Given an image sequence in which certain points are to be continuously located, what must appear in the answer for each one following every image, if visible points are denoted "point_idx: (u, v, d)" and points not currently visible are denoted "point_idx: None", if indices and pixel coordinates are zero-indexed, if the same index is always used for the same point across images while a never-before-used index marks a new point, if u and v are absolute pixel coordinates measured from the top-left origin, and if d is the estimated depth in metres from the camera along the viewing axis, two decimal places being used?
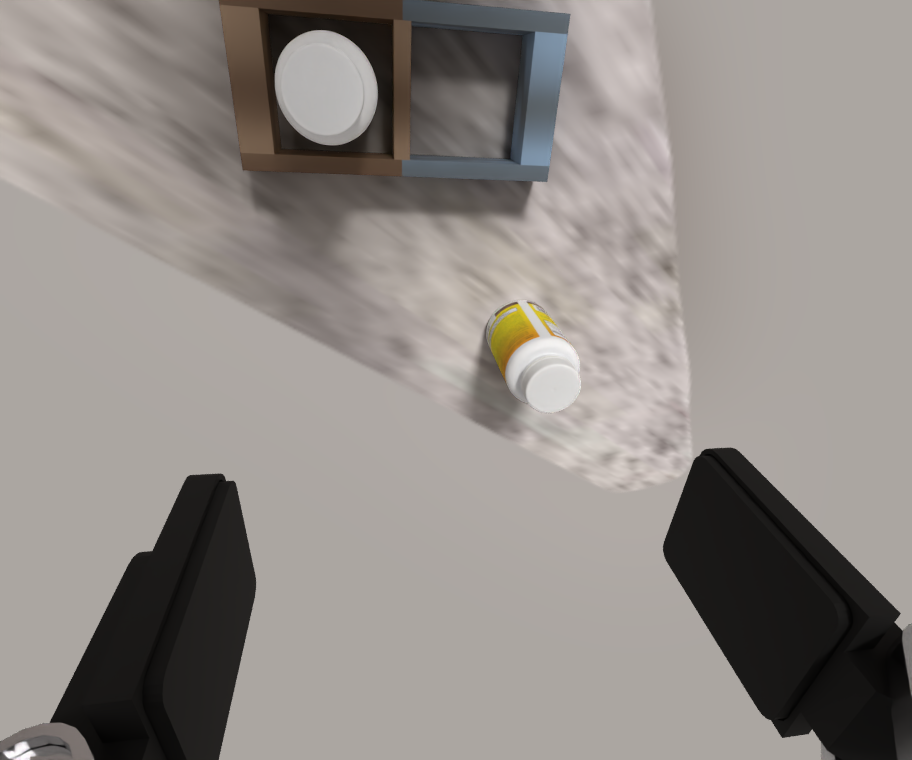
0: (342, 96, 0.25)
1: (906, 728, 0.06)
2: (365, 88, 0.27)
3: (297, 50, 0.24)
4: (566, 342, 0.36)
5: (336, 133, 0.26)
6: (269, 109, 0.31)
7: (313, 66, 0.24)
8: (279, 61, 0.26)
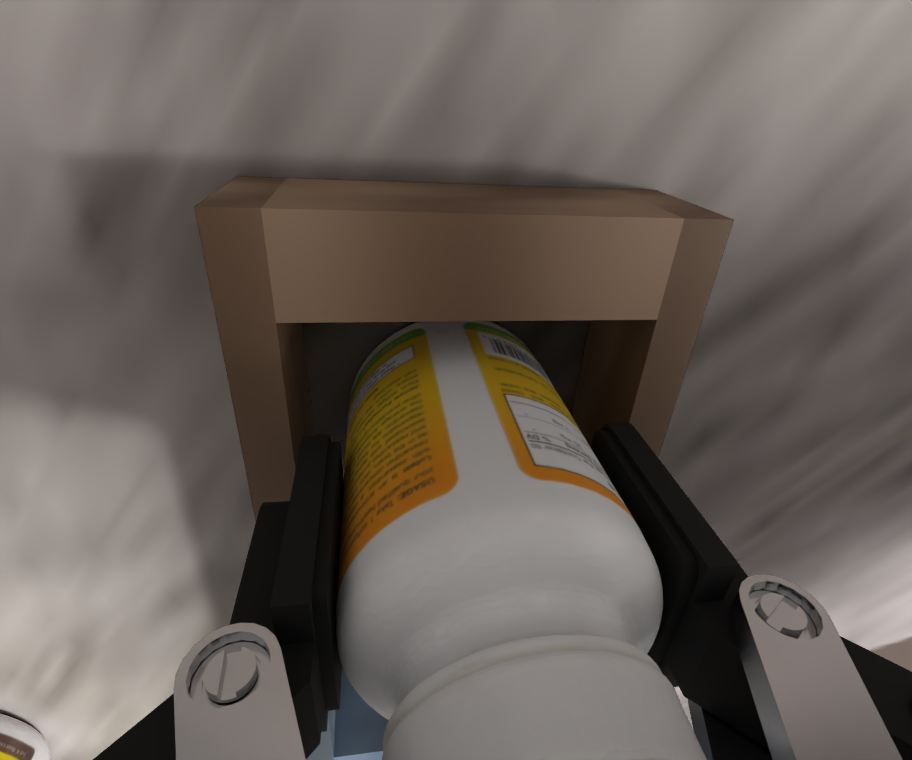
0: None
1: (763, 692, 0.06)
2: None
3: None
4: None
5: None
6: None
7: None
8: (606, 536, 0.07)
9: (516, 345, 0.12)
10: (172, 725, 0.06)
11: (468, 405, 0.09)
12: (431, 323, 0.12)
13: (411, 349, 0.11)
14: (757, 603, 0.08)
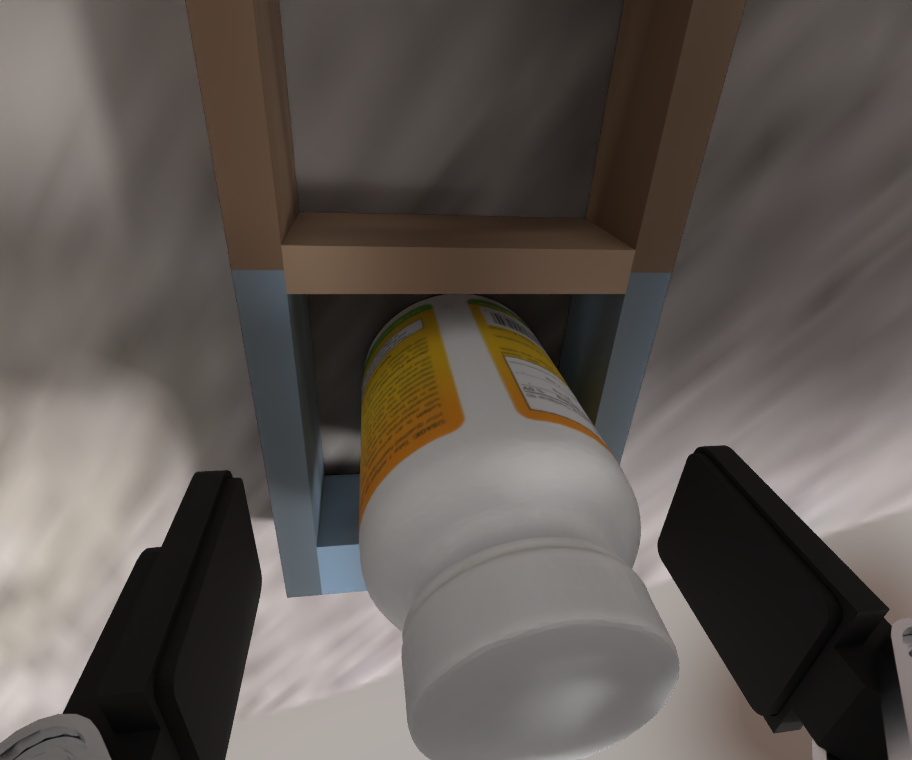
0: (527, 744, 0.08)
1: (896, 724, 0.06)
2: None
3: (670, 648, 0.07)
4: None
5: (421, 746, 0.07)
6: None
7: (621, 686, 0.07)
8: (589, 465, 0.08)
9: (514, 319, 0.13)
10: None
11: (473, 364, 0.10)
12: (438, 299, 0.14)
13: (421, 321, 0.13)
14: None
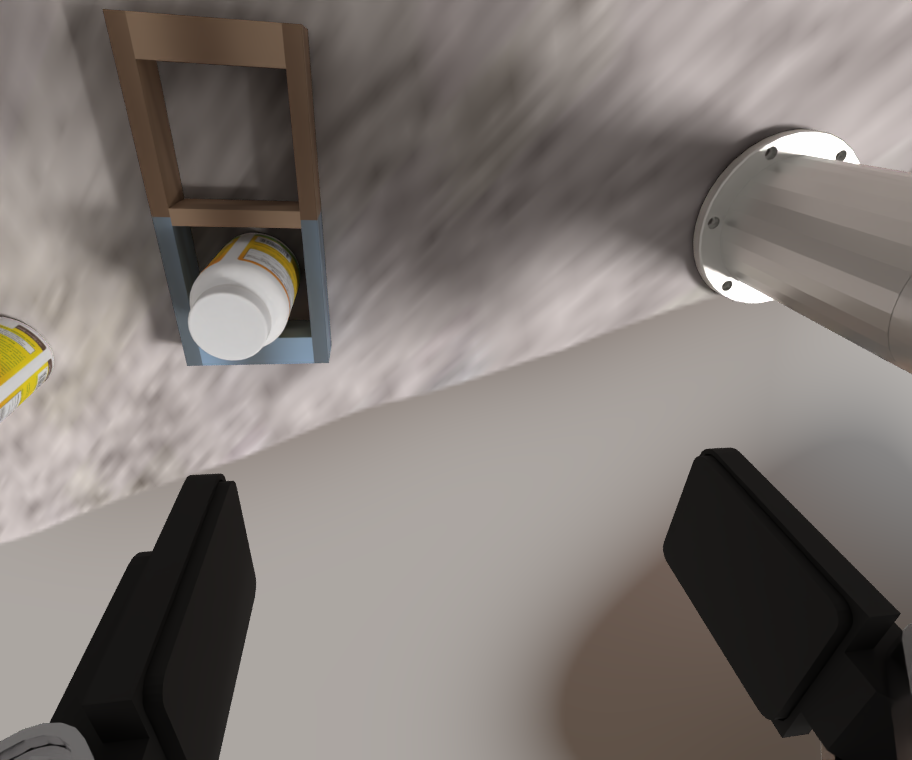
0: (227, 344, 0.27)
1: (906, 728, 0.06)
2: None
3: (257, 309, 0.27)
4: None
5: (194, 338, 0.27)
6: (187, 61, 0.27)
7: (247, 322, 0.27)
8: (254, 272, 0.28)
9: (274, 242, 0.33)
10: None
11: (236, 249, 0.30)
12: (244, 234, 0.33)
13: (232, 241, 0.32)
14: None
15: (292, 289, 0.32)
